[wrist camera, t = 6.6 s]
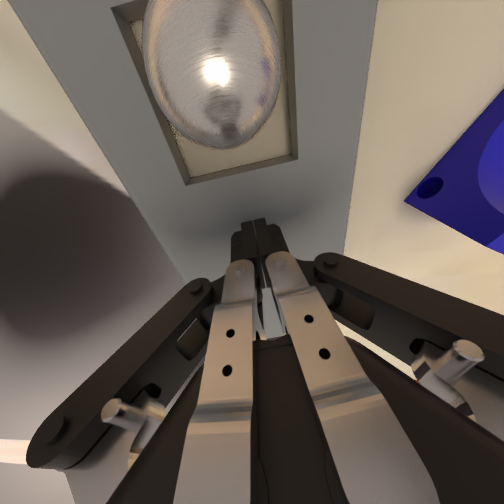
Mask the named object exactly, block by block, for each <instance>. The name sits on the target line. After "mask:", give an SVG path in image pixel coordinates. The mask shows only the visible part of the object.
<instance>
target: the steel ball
mask: <svg viewBox="0 0 504 504" xmlns="http://www.w3.org/2000/svg"><path fill="white" fill-rule="evenodd" d="M142 52H143V60H144V67H145V71H146V74H147V78H148V82H149V85H150V88H151V90H152V92H153V95H154V97H155V99H156V102H157V103H158V105H159V107H160V108H161V110H162V112H163V113H164V115H165V116H166V118H167V119H168V120H169V121H170V123H171V124H172V125H173V126H174V127H175V128H176V129H177V130H178V131H179V132H180V133H181V134H182V135H183V136H185V137H186V138H188V139H189V140H191V141H192V142H194V143H196V144H198V145H200V146H203V147H206V148H209V149H215V150H228V149H233V148H237V147H239V146H241V145H243V144H245V143H247V142H249V141H250V140H252V139H253V138H254V137H255V136H256V135H257V134H258V133H259V132H260V131H261V130H262V128H263V127H264V126H265V124H266V123H267V121H268V119H269V118H270V116H271V114H272V111H273V109H274V107H275V104H276V100H277V97H278V93H279V87H280V79H281V55H280V47H279V41H278V37H277V32H276V29H275V26H274V23H273V20H272V17H271V15H270V12H269V10H268V8H267V6H266V4H265V3H264V1H263V0H149V1H148V5H147V8H146V12H145V15H144V20H143V28H142Z"/></svg>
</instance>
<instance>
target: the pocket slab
mask: <svg viewBox="0 0 504 504" xmlns="http://www.w3.org/2000/svg"><path fill="white" fill-rule="evenodd" d="M148 1H149V0H8V2H9V3H10V5H11V6H12V8H13V10H14V11H15V13H16V14H17V16H18V18H19V19H20V21H21V22H22V24H23V26H24V27H25V29H26V30H27V32H28V34H29V35H30V37H31V38H32V40H33V42H34V43H35V45H36V46H37V48H38V50H39V51H40V53H41V54H42V56H43V58H44V59H45V61H46V62H47V64H48V66H49V67H50V69H51V70H52V72H53V74H54V75H55V77H56V78H57V80H58V82H59V83H60V85H61V86H62V88H63V90H64V91H65V93H66V94H67V96H68V98H69V99H70V101H71V102H72V104H73V106H74V107H75V109H76V110H77V112H78V113H79V115H80V117H81V118H82V120H83V121H84V123H85V125H86V126H87V128H88V129H89V131H90V133H91V134H92V136H93V137H94V139H95V141H96V142H97V144H98V145H99V147H100V149H101V150H102V152H103V153H104V155H105V157H106V158H107V160H108V161H109V163H110V165H111V166H112V168H113V169H114V171H115V173H116V174H117V176H118V177H119V179H120V181H121V182H122V184H123V185H124V187H125V189H126V190H127V192H128V193H129V195H130V197H131V198H132V200H133V201H134V203H135V204H136V206H137V208H138V209H139V211H140V213H141V214H142V216H143V217H144V219H145V220H146V222H147V223H148V225H149V227H150V228H151V230H152V232H153V233H154V235H155V236H156V238H157V240H158V241H159V243H160V244H161V246H162V248H163V249H164V251H165V252H166V254H167V255H168V257H169V259H170V260H171V262H172V264H173V265H174V267H175V268H176V270H177V272H178V273H179V275H180V276H181V278H182V280H183V281H184V283H185V284H187V283H189V282H190V281H192V280H194V279H197V278H207V279H208V280H209V281H210V282H212V281H214V280H217V279H219V278H221V277H222V276H224V275H225V273H226V269H227V267H228V266H229V265H230V263H231V237H232V235H233V233H234V232H238V231H241V223H242V222H246V221H251V220H252V221H253V220H255V219H260V218H264V217H265V220H266V224H267V225H270V224H274V223H275V224H276V225H278V226H279V227H280V229H281V231H282V234H283V237H284V239H285V242H286V244H287V247H288V249H289V252H290V254H292V255H293V256H294V258H296V259H299V260H304V261H314V259H315V258H316V256H318V255H319V254H322V253H326V252H334V253H338V254H341V255H343V252H344V245H345V238H346V231H347V223H348V216H349V209H350V201H351V194H352V187H353V179H354V172H355V165H356V157H357V150H358V143H359V136H360V128H361V121H362V114H363V106H364V99H365V92H366V84H367V77H368V70H369V63H370V55H371V48H372V41H373V33H374V26H375V19H376V11H377V4H378V0H282V1H283V17H284V34H285V51H286V67H287V84H288V101H289V117H290V134H291V151H292V154H291V155H286V156H282V157H278V158H274V159H269V160H265V161H261V162H257V163H252V164H248V165H244V166H240V167H235V168H231V169H227V170H223V171H218V172H214V173H210V174H206V175H202V176H197V177H193V178H190V177H189V174H188V172H187V169H186V166H185V164H184V161H183V159H182V156H181V154H180V151H179V149H178V146H177V144H176V141H175V139H174V136H173V134H172V131H171V128H170V126H169V123H168V121H167V118H166V116H165V115H164V113H163V112H162V110H161V108H160V107H159V105H158V103H157V102H156V99H155V97H154V95H153V92H152V90H151V88H150V85H149V82H148V78H147V74H146V71H145V67H144V60H143V58H142V55H141V52H140V50H139V47H138V45H137V42H136V40H135V37H134V35H133V32H132V30H131V27H130V25H129V22H132V21H135V20H139V19H142V18H144V15H145V12H146V8H147V5H148ZM253 225H254V221H253ZM254 230H255V227H254ZM255 234H256V233H255ZM256 239H257V238H256ZM262 270H263V268H262ZM263 275H264V272H263ZM264 281H265V277H264ZM265 286H266V281H265ZM262 293H263V304H264V319H265V334H266V339H267V338H273V337H278V336H284V335H283V331H282V327H281V324H280V321H279V318H278V314H277V311H276V308H275V305H274V301H273V297H272V292H271V288H267V286H266V288H265V289H262Z"/></svg>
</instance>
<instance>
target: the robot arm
mask: <svg viewBox="0 0 504 504" xmlns="http://www.w3.org/2000/svg"><path fill="white" fill-rule="evenodd" d="M253 221H254V225H253ZM253 221H252V220H251V221H246V222H242V223H241V231H238V232H234V233H233V235H232V237H231V263H230V265H229V266H228V267H227V269H226V273H225V275H224V276H222V277H221V278H219V279H217V280H214V281H212V282H210V281H209V280H208V279H207V278H197V279H194V280H192V281H190V282H189V283H187V284H186V285H185V286H184V287H183V288H182V289H181V290H180V291H179V292H178V293H177V294H176V295H175V296H174V297H173V298H172V299H171V300H170V301H168V302H167V303H166V304H165V305H164V306H163V307H162V308H161V309H160V310H159V311H158V312H157V313H156V314H155V315H154V316H153V317H152V318H151V319H150V320H149V321H147V323H145V324H144V325H143V326H142V327H141V328H140V329H139V330H138V331H137V332H136V333H135V334H134V335H133V336H132V337H131V338H130V339H129V340H128V341H127V342H126V343H124V344H123V345H122V346H121V347H120V349H118V350H117V351H116V352H115V353H114V354H113V355H112V356H111V357H110V358H109V359H108V360H107V361H106V362H105V363H103V364H102V366H100V367H99V368H98V369H97V370H96V371H95V372H94V373H93V374H92V375H91V376H90V377H89V378H88V379H87V380H86V381H85V382H84V383H82V384H81V385H80V386H79V387H78V388H77V389H76V390H75V391H74V392H73V393H72V394H71V395H70V396H69V397H68V398H67V399H66V400H65V401H64V402H63V403H62V404H60V405H59V406H58V407H57V408H56V409H55V410H54V411H53V412H52V413H51V414H50V415H49V416H48V417H47V418H46V419H45V420H44V422H43V423H42V424H41V425H40V427H39V428H38V429H37V431H36V433H35V434H34V436H33V438H32V440H31V442H30V444H29V446H28V449H27V454H26V462H27V464H28V466H30V467H31V468H44V469H55V470H57V471H61V472H64V473H65V474H66V477H67V480H68V483H69V486H70V489H71V492H72V495H73V498H74V501H75V504H504V315H501V314H499V313H496V312H493V311H491V310H488V309H485V308H483V307H480V306H477V305H475V304H472V303H469V302H467V301H464V300H461V299H459V298H456V297H453V296H451V295H448V294H445V293H442V292H440V291H437V290H434V289H432V288H429V287H426V286H424V285H421V284H418V283H416V282H413V281H410V280H408V279H405V278H402V277H400V276H397V275H394V274H392V273H389V272H386V271H384V270H381V269H378V268H376V267H373V266H370V265H368V264H365V263H362V262H359V261H357V260H354V259H351V258H349V257H346V256H343V255H341V254H338V253H334V252H326V253H322V254H319V255H318V256H316V258H315V259H314V261H304V260H299V259H296V258H294V256H293V255H292V254H290V252H289V249H288V247H287V244H286V242H285V239H284V237H283V234H282V231H281V229H280V227H279V226H278V225H276V224H275V223H274V224H270V225H267V224H266V220H265V217H264V218H260V219H255V220H253ZM254 227H255V230H254ZM255 233H256V234H255ZM256 238H257V239H256ZM262 268H263V270H262ZM263 272H264V275H263ZM264 277H265V281H266V286H267V288H271V292H272V297H273V301H274V305H275V308H276V311H277V314H278V318H279V321H280V324H281V327H282V331H283V335H284V336H282V337H280V338H278V339H276V340H272V341H270V340H266V334H265V319H264V304H263V293H262V289H265V288H266V286H265V281H264ZM196 318H197V320H196V321H195V322H194V323H193V324H192V325H191V323H192V322H193V321H194V320H195V319H196ZM335 320H337V321H338V322H340V323H341V324H343V325H345V326H346V327H348V328H350V329H351V330H353V331H354V332H356V333H358V334H359V335H361V336H362V337H364V338H366V339H367V340H369V341H371V342H372V343H374V344H375V345H377V346H379V347H380V348H382V349H383V350H385V351H387V352H388V353H390V354H392V355H393V356H395V357H396V358H398V359H400V360H401V361H403V362H404V363H406V364H408V365H409V366H411V367H412V371H413V373H414V375H415V377H416V379H417V380H418V381H419V383H420V384H419V383H418V382H416V381H415V380H413V379H412V378H411V377H409V376H408V375H406V374H405V373H403V372H402V371H400V370H399V369H397V368H396V367H394V366H393V365H392V364H390V363H389V362H387V361H386V360H384V359H383V358H381V357H380V356H378V355H377V354H375V353H374V352H373V351H371V350H370V349H368V348H367V347H365V346H364V345H362V344H361V343H359V342H357V341H355V340H353V339H351V338H349V337H346V336H344V335H343V333H342V332H341V330H340V328H339V326H338V325H337V323H336V321H335ZM190 325H191V327H190V328H189V329H188V330H187V331H186V332H185V333H184V331H185V330H186V329H187V328H188V327H189V326H190ZM182 333H184V334H183V336H182V337H181V338H180V339H179V340H178V338H179V337H180V336H181V335H182ZM177 340H178V341H177ZM205 354H206V358H205V363H204V364H203V365H202V366H201V367H200V368H199V369H198V371H197V372H196V373H195V375H194V376H193V377H192V379H191V380H190V382H189V383H188V385H187V386H186V388H185V389H184V390H183V392H182V393H181V395H180V397H179V398H178V399H177V401H176V402H175V404H174V405H173V406H172V408H171V409H170V411H169V412H168V414H167V415H166V417H165V408H166V406H167V405H168V404H169V402H170V401H171V399H172V398H173V397H174V396H175V394H176V393H177V392H178V390H179V389H180V388H181V386H182V385H183V384H184V382H185V380H187V378H188V377H189V375H190V374H191V372H192V371H193V370H194V369H195V367H196V366H197V365H198V363H199V362H200V361H201V359H202V358H203V356H204V355H205Z"/></svg>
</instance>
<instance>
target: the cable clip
mask: <svg viewBox="0 0 504 504" xmlns="http://www.w3.org/2000/svg"><path fill="white" fill-rule="evenodd" d="M404 202H406V203H408V204H410V205H411V206H413V207H415V208H417V209H419V210H420V211H422V212H424V213H426V214H428V215H429V216H431V217H433V218H435V219H437V220H438V221H440V222H442V223H444V224H446V225H447V226H449V227H451V228H453V229H455V230H456V231H458V232H460V233H462V234H464V235H466V236H467V237H469V238H471V239H473V240H475V241H476V242H478V243H480V244H482V245H484V246H485V247H488V248H490V249H492V250H495V251H497V252H499V253H502V254H504V89H503V90H502V91H501V93H500V94H499V95H498V96H497V97H496V98H495V99H494V100H493V101H492V103H491V104H490V105H489V106H488V107H487V108H486V109H485V110H484V112H483V113H482V114H481V115H480V116H479V117H478V118H477V119H476V121H475V122H474V123H473V124H472V125H471V126H470V127H469V128H468V130H467V131H466V132H465V133H464V134H463V135H462V136H461V137H460V139H459V140H458V141H457V142H456V143H455V144H454V145H453V146H452V148H451V149H450V150H449V151H448V152H447V153H446V154H445V155H444V156H443V158H442V159H441V160H440V161H439V162H438V163H437V164H436V165H435V167H434V168H433V169H432V170H431V171H430V172H429V173H428V174H427V176H426V177H425V178H424V179H423V180H422V181H421V182H420V183H419V185H418V186H417V187H416V188H415V189H414V190H413V191H412V192H411V194H410V195H409V196H408V197H407V198H406V199H405V200H404Z"/></svg>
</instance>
